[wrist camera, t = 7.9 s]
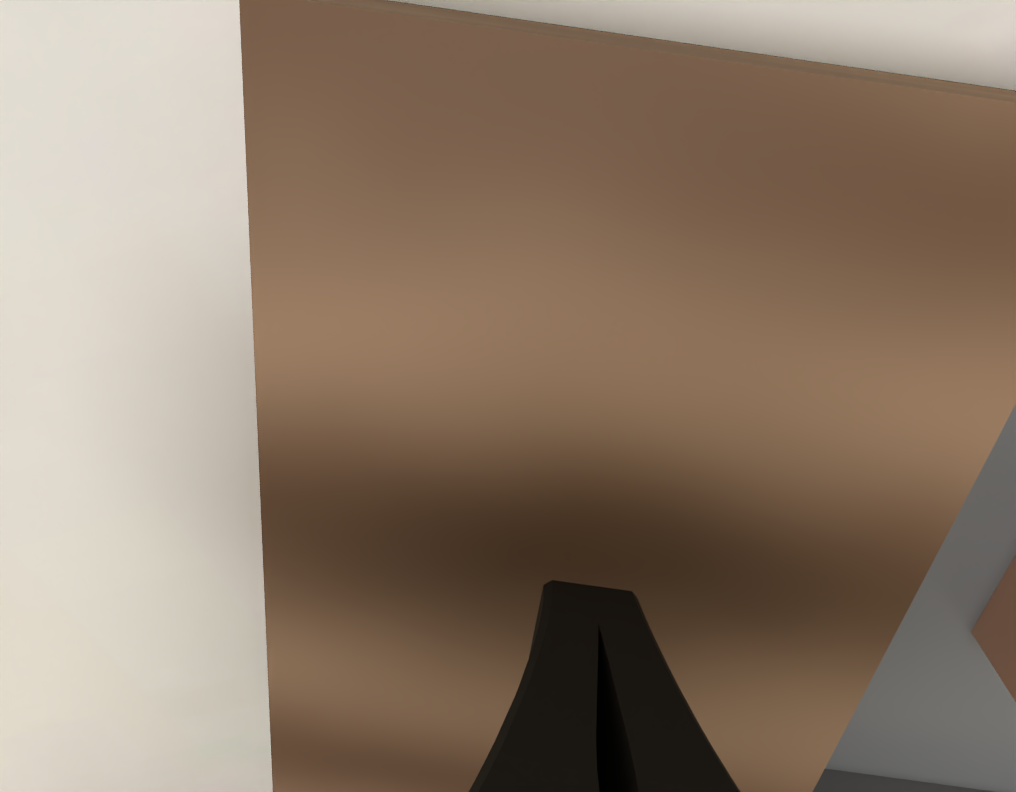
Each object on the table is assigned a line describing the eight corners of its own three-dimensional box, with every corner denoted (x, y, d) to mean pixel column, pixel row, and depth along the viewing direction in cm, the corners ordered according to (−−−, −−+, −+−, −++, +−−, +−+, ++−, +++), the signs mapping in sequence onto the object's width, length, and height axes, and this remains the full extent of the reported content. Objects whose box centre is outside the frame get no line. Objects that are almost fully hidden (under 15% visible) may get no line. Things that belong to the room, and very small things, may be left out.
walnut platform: (739, 755, 19) (767, 877, 17) (312, 697, 19) (273, 811, 17) (1024, 92, 12) (1162, 122, 9) (312, -11, 11) (239, -9, 9)
